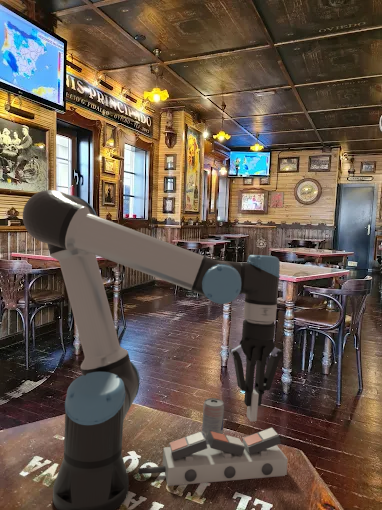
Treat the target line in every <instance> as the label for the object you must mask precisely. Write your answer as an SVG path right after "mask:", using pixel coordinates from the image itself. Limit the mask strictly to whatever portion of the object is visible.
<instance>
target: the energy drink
mask: <svg viewBox="0 0 382 510" xmlns="http://www.w3.org/2000/svg"><path fill="white" fill-rule="evenodd" d="M202 409H203V410H202V424H201V425H202V426H201V429H202V430H201V431H202V434H203V436H204V438H205V440H206V444H207V445H209V443H208V441H207V436H208V433H209V431H212V432H216V433H220V434H224V433H223V432H224V418H225V417H224V416H225V414H224V413H225V404H224V401H223V400H221V399H219V398H215V397H209V398H206V399H205V400H204V402H203V407H202Z"/></svg>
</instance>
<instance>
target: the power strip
mask: <svg viewBox="0 0 382 510" xmlns="http://www.w3.org/2000/svg"><path fill="white" fill-rule="evenodd" d="M241 442H242V444H243V441H241ZM243 445H244V444H243ZM159 473H161V474H163V473H164V476H165V480H166V485H167V486H169V487H171V486H180V485H193V484H204V483H217V482H228V481H240V480H248V479H263V478H264V479H265V478H272V477H275V478H276V477H285V475H288V457H287V456H286V455H285V453H284V452H283V451H282V450H281V448H279V446H278V445H275V446H273V447H270V448H268V449H265V450H262V451H260V452H257V453H254V454H252V455H250V454H249V453H248V451H247V450H246V448H245V449H244V452H243V455H242V456H241V455H237V454H233V453H229V452H225V451H221V450H217V449H213V448H211V447H210V445H207V449H204V450H202V451H199V452H196V453H193V454H191V455H188V456H185V457H183V458H180V459H177V460H173V456H172V452H171V449H170V446H167V447H165V446H164V447H163V451H162V466H151V467H138V475H149V474H159Z"/></svg>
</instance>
